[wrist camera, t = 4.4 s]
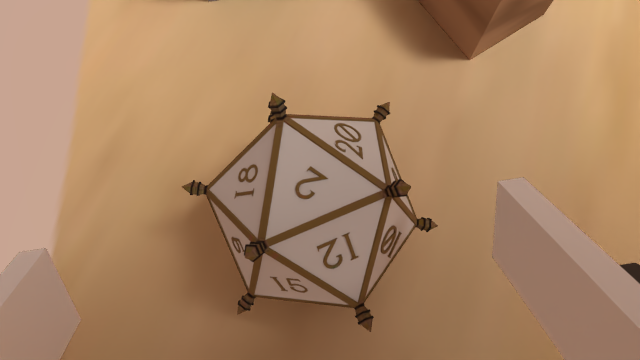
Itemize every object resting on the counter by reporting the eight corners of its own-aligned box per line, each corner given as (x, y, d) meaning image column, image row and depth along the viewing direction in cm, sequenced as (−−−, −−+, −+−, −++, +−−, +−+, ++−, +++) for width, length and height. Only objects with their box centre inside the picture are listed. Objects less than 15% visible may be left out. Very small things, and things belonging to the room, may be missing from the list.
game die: (293, 215, 25) (223, 47, 19) (451, 220, 22) (426, 17, 16) (220, 366, 19) (82, 184, 13) (427, 406, 15) (369, 183, 9)
